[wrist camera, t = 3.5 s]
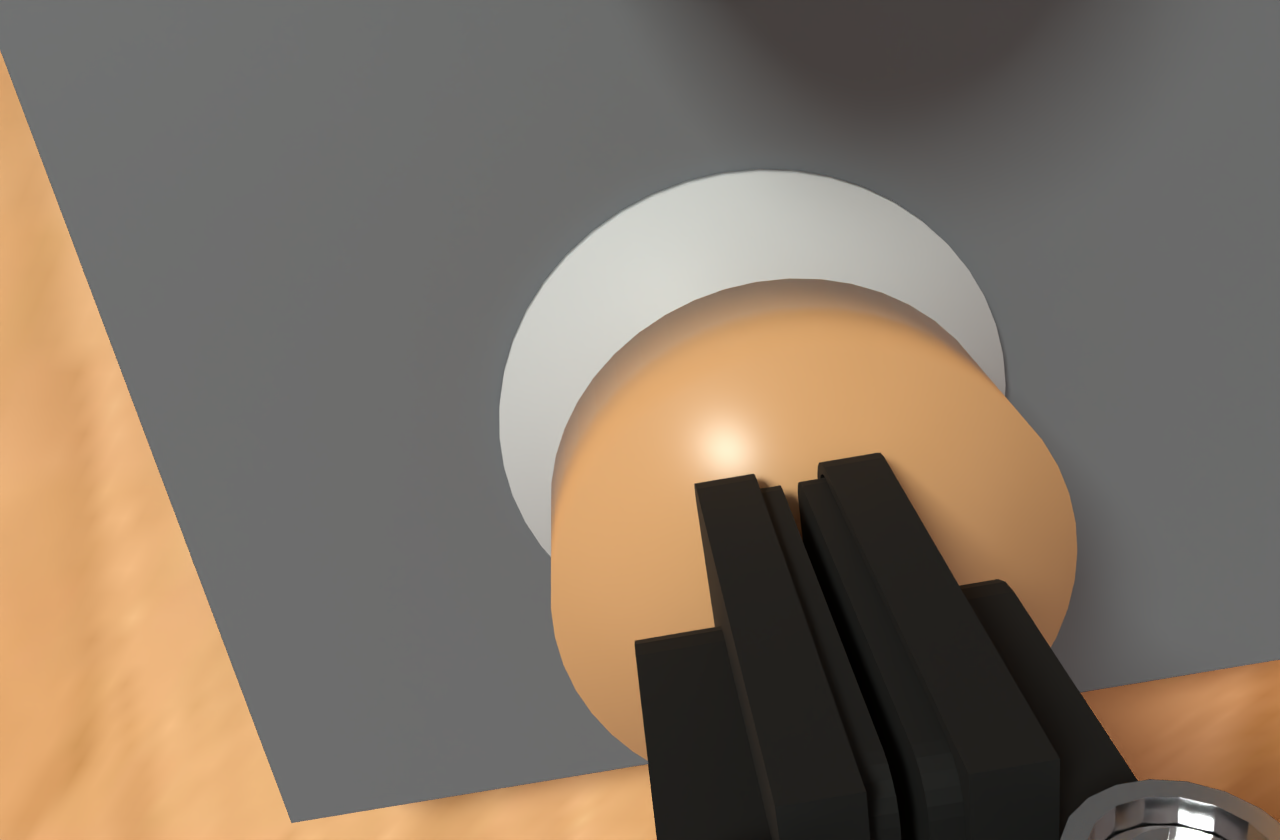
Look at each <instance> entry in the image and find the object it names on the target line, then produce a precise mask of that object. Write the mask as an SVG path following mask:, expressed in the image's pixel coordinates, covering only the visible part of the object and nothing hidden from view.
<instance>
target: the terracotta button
mask: <svg viewBox="0 0 1280 840" xmlns="http://www.w3.org/2000/svg"><path fill="white" fill-rule="evenodd" d="M872 453H881V454H882V455H883V456H884V457H885V459H886V461H887V463H888V464H889V466H890V468H891V469H892V471H893V473H894V475H895V476H896V478H897V480H898V481H899V483H900V485H901V487H902V488H903V490H904V492H905V493H906V495H907V497H908V499H909V500H910V502H911V504H912V505H913V507H914V509H915V511H916V512H917V514H918V516H919V518H920V519H921V521H922V523H923V524H924V526H925V528H926V530H927V531H928V533H929V535H930V536H931V538H932V540H933V542H934V543H935V545H936V547H937V548H938V550H939V552H940V554H941V555H942V557H943V559H944V560H945V562H946V564H947V566H948V567H949V569H950V571H951V572H952V574H953V576H954V578H955V579H956V581H957V583H958V585H959V586H960V585H966V584H972V583H978V582H983V581H989V580H995V579H1000V580H1002V581H1005V582H1006V583H1007V584H1008V585H1009V586H1010V588H1011V589H1012V590H1013V591H1014V592H1015V594H1016V595H1017V597H1018V599H1019V600H1020V602H1021V603H1022V605H1023V606H1024V608H1025V609H1026V611H1027V612H1028V614H1029V615H1030V617H1031V618H1032V620H1033V621H1034V623H1035V625H1036V626H1037V628H1038V629H1039V631H1040V632H1041V634H1042V635H1043V637H1044V638H1045V640H1046V641H1047V643H1048V644H1049V646H1050V647H1051V646H1052V644H1053V642H1054V641H1055V639H1056V637H1057V635H1058V632H1059V630H1060V627H1061V625H1062V622H1063V620H1064V617H1065V615H1066V612H1067V609H1068V606H1069V602H1070V598H1071V594H1072V589H1073V585H1074V581H1075V572H1076V561H1077V536H1076V521H1075V517H1074V512H1073V508H1072V503H1071V499H1070V495H1069V492H1068V489H1067V487H1066V484H1065V482H1064V479H1063V477H1062V474H1061V472H1060V469H1059V467H1058V465H1057V463H1056V462H1055V460H1054V458H1053V457H1052V455H1051V453H1050V452H1049V450H1048V448H1047V447H1046V445H1045V443H1044V442H1043V440H1042V439H1041V438H1040V437H1039V435H1038V434H1037V433H1036V432H1035V431H1034V430H1033V428H1032V427H1031V426H1030V425H1029V424H1028V423H1027V421H1026V420H1025V419H1024V418H1023V417H1022V416H1021V414H1020V413H1019V412H1018V411H1017V410H1016V409H1015V407H1014V406H1013V405H1012V404H1011V403H1010V402H1009V400H1008V399H1007V398H1006V397H1005V396H1004V395H1003V393H1002V392H1001V391H1000V390H999V389H998V388H997V386H996V385H995V384H994V383H993V382H992V381H991V379H990V378H989V377H988V376H987V375H986V374H985V372H984V371H983V370H982V369H981V368H980V367H979V365H978V364H977V363H976V362H975V361H974V360H973V358H972V357H971V356H970V355H969V354H968V353H967V351H966V350H965V349H964V348H963V347H962V346H961V344H960V343H959V342H958V341H957V340H956V339H955V338H954V337H953V336H952V335H951V334H949V333H948V332H947V331H946V330H945V329H944V328H942V327H941V326H940V325H939V324H938V323H937V322H936V321H934V320H933V319H931V318H930V317H928V316H926V315H925V314H923V313H922V312H920V311H918V310H917V309H915V308H914V307H912V306H911V305H909V304H906V303H904V302H902V301H900V300H898V299H895V298H893V297H891V296H889V295H886V294H884V293H882V292H878V291H875V290H872V289H868V288H865V287H861V286H858V285H854V284H850V283H843V282H836V281H830V280H823V279H791V278H789V279H779V280H769V281H760V282H754V283H749V284H745V285H741V286H736V287H732V288H728V289H724V290H721V291H718V292H715V293H713V294H710V295H707V296H705V297H702V298H699V299H696V300H694V301H692V302H690V303H688V304H686V305H684V306H682V307H680V308H678V309H676V310H674V311H672V312H670V313H668V314H666V315H664V316H663V317H661V318H660V319H658V320H657V321H655V322H654V323H652V324H651V325H650V326H648V327H647V328H645V329H644V330H642V331H641V332H639V333H638V334H637V335H635V336H634V337H633V338H632V339H631V340H630V341H629V342H628V343H626V344H625V345H624V346H623V347H622V348H621V349H620V350H618V351H617V352H616V353H615V354H614V355H613V356H612V357H611V358H610V360H609V361H608V362H607V363H606V364H605V365H604V366H603V368H602V369H601V370H600V371H599V372H598V373H597V374H596V376H595V377H594V378H593V379H592V381H591V382H590V384H589V385H588V387H587V388H586V390H585V391H584V393H583V394H582V396H581V397H580V399H579V400H578V402H577V404H576V406H575V408H574V410H573V412H572V414H571V416H570V418H569V420H568V422H567V424H566V427H565V429H564V432H563V435H562V438H561V441H560V444H559V447H558V451H557V454H556V458H555V464H554V470H553V476H552V482H551V613H552V620H553V627H554V634H555V639H556V642H557V646H558V649H559V652H560V655H561V659H562V662H563V665H564V667H565V669H566V671H567V673H568V675H569V677H570V679H571V681H572V683H573V686H574V688H575V690H576V691H577V693H578V694H579V696H580V697H581V698H582V700H583V701H584V703H585V704H586V706H587V707H588V709H589V710H590V711H591V713H592V714H593V715H594V716H595V717H596V718H597V719H598V720H599V722H600V723H601V724H602V725H603V726H604V727H605V728H606V729H607V730H608V731H609V732H610V733H611V734H612V735H613V736H614V737H615V738H617V739H618V740H619V741H620V742H622V743H623V744H624V745H625V746H627V747H628V748H629V749H630V750H632V751H633V752H634V753H636V754H637V755H639V756H641V757H642V758H644V759H646V760H647V761H648V758H647V750H646V741H645V732H644V724H643V715H642V707H641V698H640V690H639V681H638V672H637V664H636V655H635V645H634V644H635V640H641V639H647V638H653V637H659V636H665V635H670V634H676V633H682V632H688V631H694V630H700V629H706V628H712V627H715V625H714V618H713V611H712V605H711V598H710V591H709V584H708V578H707V571H706V564H705V558H704V551H703V544H702V538H701V531H700V524H699V517H698V511H697V504H696V497H695V488H694V484H695V483H701V482H707V481H712V480H718V479H724V478H730V477H736V476H742V475H748V474H755V476H756V479H757V481H758V484H759V487H760V489H761V488H767V487H773V486H778V485H780V486H781V487H782V489H783V492H784V494H785V497H786V499H787V502H788V505H789V507H790V510H791V512H792V515H793V517H794V520H795V523H796V525H797V528H798V530H799V533H800V536H801V538H802V530H801V520H800V511H799V501H798V483H799V482H802V481H808V480H814V479H818V478H817V471H818V464H819V462H825V461H831V460H837V459H843V458H849V457H854V456H860V455H866V454H872ZM802 541H803V539H802Z"/></svg>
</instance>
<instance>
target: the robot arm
mask: <svg viewBox="0 0 1280 840" xmlns="http://www.w3.org/2000/svg"><path fill="white" fill-rule="evenodd" d="M817 478H818V479H814V480H808V481H802V482H799V483H798V501H799V511H800V520H801V530H802V538H801V536H800V533H799V530H798V528H797V525H796V523H795V520H794V517H793V515H792V512H791V510H790V507H789V505H788V502H787V499H786V497H785V494H784V492H783V489H782V487H781V486H780V485H778V486H773V487H767V488H761V489H760V487H759V484H758V481H757V479H756V476H755V474H748V475H742V476H736V477H730V478H724V479H718V480H712V481H707V482H701V483H695V484H694V488H695V497H696V504H697V511H698V517H699V524H700V531H701V538H702V544H703V551H704V558H705V564H706V571H707V578H708V584H709V591H710V598H711V605H712V611H713V618H714V625H715V627H712V628H706V629H700V630H694V631H688V632H682V633H676V634H670V635H665V636H659V637H653V638H647V639H641V640H635V644H634V645H635V655H636V664H637V672H638V681H639V690H640V698H641V707H642V715H643V724H644V732H645V741H646V750H647V758H648V767H649V775H650V784H651V793H652V801H653V810H654V818H655V827H656V835H657V840H1280V823H1279V822H1277V821H1276V820H1275V819H1274V818H1272V817H1271V816H1270V815H1268V814H1267V813H1266V812H1264V811H1263V810H1262V809H1260V808H1258V807H1256V806H1254V805H1252V804H1250V803H1248V802H1246V801H1244V800H1242V799H1240V798H1238V797H1235V796H1233V795H1231V794H1229V793H1227V792H1225V791H1221V790H1217V789H1213V788H1210V787H1206V786H1202V785H1198V784H1194V783H1190V782H1185V781H1168V780H1151V779H1149V780H1143V781H1137V779H1136V778H1135V776H1134V774H1133V773H1132V771H1131V770H1130V768H1129V767H1128V765H1127V764H1126V762H1125V761H1124V759H1123V758H1122V756H1121V755H1120V753H1119V751H1118V750H1117V748H1116V747H1115V745H1114V744H1113V742H1112V741H1111V739H1110V738H1109V736H1108V735H1107V733H1106V732H1105V730H1104V729H1103V727H1102V725H1101V724H1100V722H1099V721H1098V719H1097V718H1096V716H1095V715H1094V713H1093V712H1092V710H1091V709H1090V707H1089V706H1088V704H1087V703H1086V701H1085V699H1084V698H1083V696H1082V695H1081V693H1080V692H1079V690H1078V689H1077V687H1076V686H1075V684H1074V683H1073V681H1072V680H1071V678H1070V677H1069V675H1068V673H1067V672H1066V670H1065V669H1064V667H1063V666H1062V664H1061V663H1060V661H1059V660H1058V658H1057V657H1056V655H1055V654H1054V652H1053V651H1052V649H1051V647H1050V646H1049V644H1048V643H1047V641H1046V640H1045V638H1044V637H1043V635H1042V634H1041V632H1040V631H1039V629H1038V628H1037V626H1036V625H1035V623H1034V621H1033V620H1032V618H1031V617H1030V615H1029V614H1028V612H1027V611H1026V609H1025V608H1024V606H1023V605H1022V603H1021V602H1020V600H1019V599H1018V597H1017V595H1016V594H1015V592H1014V591H1013V590H1012V589H1011V588H1010V586H1009V585H1008V584H1007V583H1006V582H1005V581H1002V580H1000V579H995V580H989V581H983V582H978V583H972V584H966V585H960V586H959V585H958V583H957V581H956V579H955V578H954V576H953V574H952V572H951V571H950V569H949V567H948V566H947V564H946V562H945V560H944V559H943V557H942V555H941V554H940V552H939V550H938V548H937V547H936V545H935V543H934V542H933V540H932V538H931V536H930V535H929V533H928V531H927V530H926V528H925V526H924V524H923V523H922V521H921V519H920V518H919V516H918V514H917V512H916V511H915V509H914V507H913V505H912V504H911V502H910V500H909V499H908V497H907V495H906V493H905V492H904V490H903V488H902V487H901V485H900V483H899V481H898V480H897V478H896V476H895V475H894V473H893V471H892V469H891V468H890V466H889V464H888V463H887V461H886V459H885V457H884V456H883V455H882V454H881V453H872V454H866V455H860V456H854V457H849V458H843V459H837V460H831V461H825V462H819V464H818V471H817ZM802 539H803V541H802Z"/></svg>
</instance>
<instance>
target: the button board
mask: <svg viewBox="0 0 1280 840" xmlns="http://www.w3.org/2000/svg"><path fill="white" fill-rule="evenodd" d="M0 51H1V53H2V56H3V58H4V61H5V64H6V66H7V69H8V72H9V74H10V77H11V80H12V82H13V85H14V88H15V90H16V93H17V96H18V98H19V101H20V104H21V106H22V109H23V112H24V114H25V117H26V120H27V122H28V125H29V127H30V130H31V133H32V135H33V138H34V141H35V143H36V146H37V149H38V151H39V154H40V157H41V159H42V162H43V165H44V167H45V170H46V173H47V175H48V178H49V181H50V183H51V186H52V188H53V191H54V194H55V196H56V199H57V202H58V204H59V207H60V210H61V212H62V215H63V218H64V220H65V223H66V226H67V228H68V231H69V234H70V236H71V239H72V242H73V244H74V247H75V250H76V252H77V255H78V257H79V260H80V263H81V265H82V268H83V271H84V273H85V276H86V279H87V281H88V284H89V287H90V289H91V292H92V295H93V297H94V300H95V303H96V305H97V308H98V311H99V313H100V316H101V318H102V321H103V324H104V326H105V329H106V332H107V334H108V337H109V340H110V342H111V345H112V348H113V350H114V353H115V356H116V358H117V361H118V364H119V366H120V369H121V372H122V374H123V377H124V380H125V382H126V385H127V387H128V390H129V393H130V395H131V398H132V401H133V403H134V406H135V409H136V411H137V414H138V417H139V419H140V422H141V425H142V427H143V430H144V433H145V435H146V438H147V441H148V443H149V446H150V449H151V451H152V454H153V456H154V459H155V462H156V464H157V467H158V470H159V472H160V475H161V478H162V480H163V483H164V486H165V488H166V491H167V494H168V496H169V499H170V502H171V504H172V507H173V510H174V512H175V515H176V517H177V520H178V523H179V525H180V528H181V531H182V533H183V536H184V539H185V541H186V544H187V547H188V549H189V552H190V555H191V557H192V560H193V563H194V565H195V568H196V571H197V573H198V576H199V579H200V581H201V584H202V586H203V589H204V592H205V594H206V597H207V600H208V602H209V605H210V608H211V610H212V613H213V616H214V618H215V621H216V624H217V626H218V629H219V632H220V634H221V637H222V640H223V642H224V645H225V647H226V650H227V653H228V655H229V658H230V661H231V663H232V666H233V669H234V671H235V674H236V677H237V679H238V682H239V685H240V687H241V690H242V693H243V695H244V698H245V701H246V703H247V706H248V709H249V711H250V714H251V716H252V719H253V722H254V724H255V727H256V730H257V732H258V735H259V738H260V740H261V743H262V746H263V748H264V751H265V754H266V756H267V759H268V762H269V764H270V767H271V770H272V772H273V775H274V777H275V780H276V783H277V785H278V788H279V791H280V793H281V796H282V799H283V801H284V804H285V807H286V809H287V812H288V815H289V817H290V820H291V823H294V822H300V821H306V820H312V819H318V818H324V817H330V816H336V815H342V814H348V813H354V812H360V811H366V810H372V809H379V808H385V807H391V806H397V805H403V804H409V803H415V802H421V801H427V800H433V799H439V798H445V797H451V796H457V795H463V794H469V793H475V792H481V791H487V790H493V789H499V788H506V787H512V786H518V785H524V784H530V783H536V782H542V781H548V780H554V779H560V778H566V777H572V776H578V775H584V774H590V773H596V772H602V771H608V770H614V769H620V768H626V767H633V766H639V765H645V764H648V761H647V760H646V759H644V758H642V757H641V756H639V755H637V754H636V753H634V752H633V751H632V750H630V749H629V748H628V747H627V746H625V745H624V744H623V743H622V742H620V741H619V740H618V739H617V738H615V737H614V736H613V735H612V734H611V733H610V732H609V731H608V730H607V729H606V728H605V727H604V726H603V725H602V724H601V723H600V722H599V720H598V719H597V718H596V717H595V716H594V715H593V714H592V713H591V711H590V710H589V709H588V707H587V706H586V704H585V703H584V701H583V700H582V698H581V697H580V696H579V694H578V693H577V691H576V690H575V688H574V686H573V683H572V681H571V679H570V677H569V675H568V673H567V671H566V669H565V667H564V665H563V662H562V659H561V655H560V652H559V649H558V646H557V642H556V639H555V634H554V627H553V620H552V613H551V482H552V476H553V470H554V464H555V458H556V454H557V451H558V447H559V444H560V441H561V438H562V435H563V432H564V429H565V427H566V424H567V422H568V420H569V418H570V416H571V414H572V412H573V410H574V408H575V406H576V404H577V402H578V400H579V399H580V397H581V396H582V394H583V393H584V391H585V390H586V388H587V387H588V385H589V384H590V382H591V381H592V379H593V378H594V377H595V376H596V374H597V373H598V372H599V371H600V370H601V369H602V368H603V366H604V365H605V364H606V363H607V362H608V361H609V360H610V358H611V357H612V356H613V355H614V354H615V353H616V352H617V351H618V350H620V349H621V348H622V347H623V346H624V345H625V344H626V343H628V342H629V341H630V340H631V339H632V338H633V337H634V336H635V335H637V334H638V333H639V332H641V331H642V330H644V329H645V328H647V327H648V326H650V325H651V324H652V323H654V322H655V321H657V320H658V319H660V318H661V317H663V316H664V315H666V314H668V313H670V312H672V311H674V310H676V309H678V308H680V307H682V306H684V305H686V304H688V303H690V302H692V301H694V300H696V299H699V298H702V297H705V296H707V295H710V294H713V293H715V292H718V291H721V290H724V289H728V288H732V287H736V286H741V285H745V284H749V283H754V282H760V281H769V280H779V279H789V278H791V279H823V280H830V281H836V282H843V283H850V284H854V285H858V286H861V287H865V288H868V289H872V290H875V291H878V292H882V293H884V294H886V295H889V296H891V297H893V298H895V299H898V300H900V301H902V302H904V303H906V304H909V305H911V306H912V307H914V308H915V309H917V310H918V311H920V312H922V313H923V314H925V315H926V316H928V317H930V318H931V319H933V320H934V321H936V322H937V323H938V324H939V325H940V326H941V327H942V328H944V329H945V330H946V331H947V332H948V333H949V334H951V335H952V336H953V337H954V338H955V339H956V340H957V341H958V342H959V343H960V344H961V346H962V347H963V348H964V349H965V350H966V351H967V353H968V354H969V355H970V356H971V357H972V358H973V360H974V361H975V362H976V363H977V364H978V365H979V367H980V368H981V369H982V370H983V371H984V372H985V374H986V375H987V376H988V377H989V378H990V379H991V381H992V382H993V383H994V384H995V385H996V386H997V388H998V389H999V390H1000V391H1001V392H1002V393H1003V395H1004V396H1005V397H1006V398H1007V399H1008V400H1009V402H1010V403H1011V404H1012V405H1013V406H1014V407H1015V409H1016V410H1017V411H1018V412H1019V413H1020V414H1021V416H1022V417H1023V418H1024V419H1025V420H1026V421H1027V423H1028V424H1029V425H1030V426H1031V427H1032V428H1033V430H1034V431H1035V432H1036V433H1037V434H1038V435H1039V437H1040V438H1041V439H1042V440H1043V442H1044V443H1045V445H1046V447H1047V448H1048V450H1049V452H1050V453H1051V455H1052V457H1053V458H1054V460H1055V462H1056V463H1057V465H1058V467H1059V469H1060V472H1061V474H1062V477H1063V479H1064V482H1065V484H1066V487H1067V489H1068V492H1069V495H1070V499H1071V503H1072V508H1073V512H1074V517H1075V521H1076V536H1077V561H1076V572H1075V581H1074V585H1073V589H1072V594H1071V598H1070V602H1069V606H1068V609H1067V612H1066V615H1065V617H1064V620H1063V622H1062V625H1061V627H1060V630H1059V632H1058V635H1057V637H1056V639H1055V641H1054V642H1053V644H1052V646H1051V649H1052V651H1053V652H1054V654H1055V655H1056V657H1057V658H1058V660H1059V661H1060V663H1061V664H1062V666H1063V667H1064V669H1065V670H1066V672H1067V673H1068V675H1069V677H1070V678H1071V680H1072V681H1073V683H1074V684H1075V686H1076V687H1077V689H1078V690H1079V692H1086V691H1092V690H1098V689H1104V688H1110V687H1116V686H1122V685H1128V684H1135V683H1141V682H1147V681H1153V680H1159V679H1165V678H1171V677H1177V676H1183V675H1189V674H1195V673H1201V672H1207V671H1213V670H1219V669H1225V668H1231V667H1237V666H1243V665H1249V664H1255V663H1262V662H1268V661H1274V660H1280V0H0Z"/></svg>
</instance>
